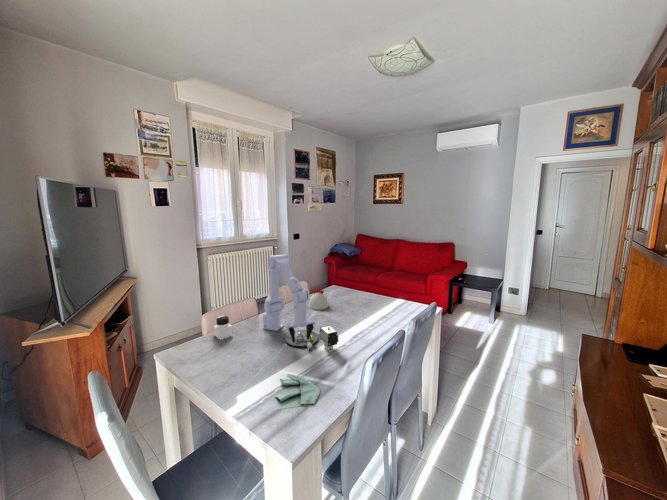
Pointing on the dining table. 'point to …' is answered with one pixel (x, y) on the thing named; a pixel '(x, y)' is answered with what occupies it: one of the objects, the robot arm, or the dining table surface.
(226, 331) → the medicine bottle
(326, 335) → the pneumatic valve
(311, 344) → the silver oval knob
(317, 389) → the cloth
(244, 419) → the dining table surface
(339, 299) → the dining table surface
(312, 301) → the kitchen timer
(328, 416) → the dining table surface
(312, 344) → the base plate
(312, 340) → the turntable
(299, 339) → the cover
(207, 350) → the dining table surface
